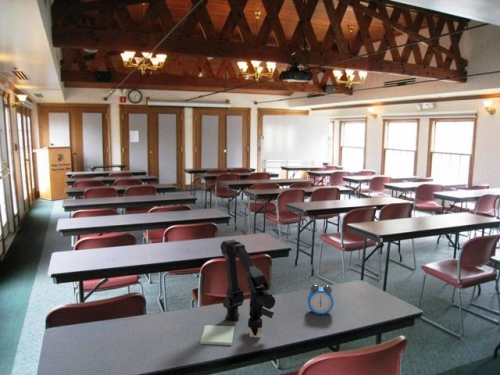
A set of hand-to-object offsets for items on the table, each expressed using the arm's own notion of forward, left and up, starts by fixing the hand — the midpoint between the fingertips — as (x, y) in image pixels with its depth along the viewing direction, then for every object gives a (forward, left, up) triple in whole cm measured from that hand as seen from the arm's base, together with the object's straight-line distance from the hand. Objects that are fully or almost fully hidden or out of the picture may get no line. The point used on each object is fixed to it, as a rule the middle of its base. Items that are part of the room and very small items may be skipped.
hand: (255, 332), depth 177 cm
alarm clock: (-25, +33, -1) cm, 41 cm away
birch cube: (0, 0, -1) cm, 1 cm away
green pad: (+3, -17, -1) cm, 17 cm away
